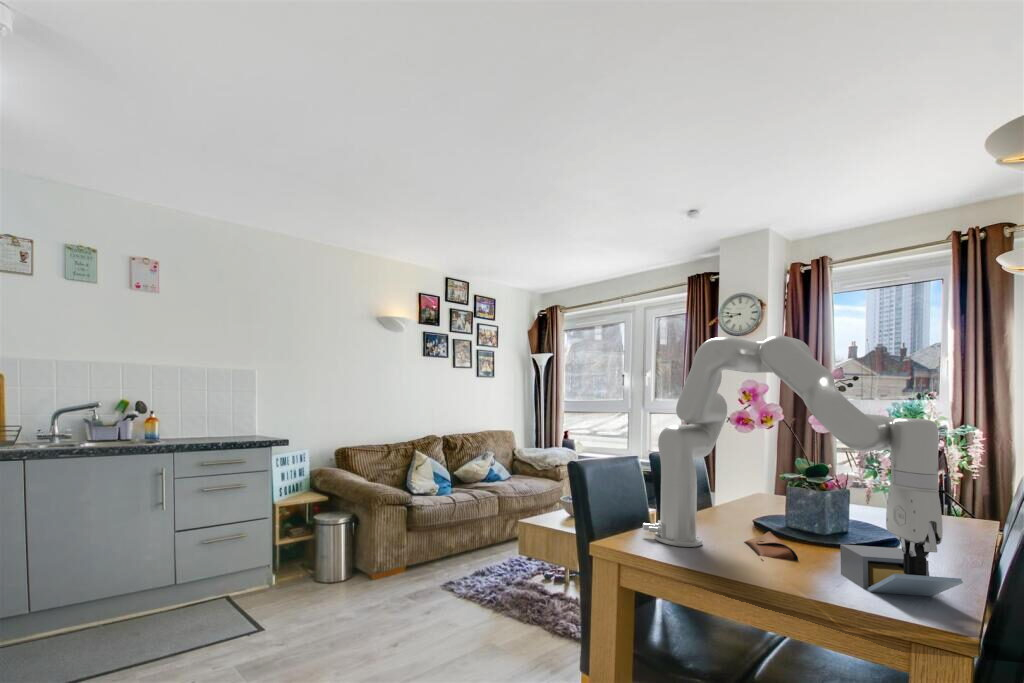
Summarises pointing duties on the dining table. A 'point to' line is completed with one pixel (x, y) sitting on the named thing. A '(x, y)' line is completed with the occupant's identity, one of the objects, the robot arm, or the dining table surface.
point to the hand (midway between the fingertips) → (914, 575)
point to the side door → (914, 584)
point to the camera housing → (871, 563)
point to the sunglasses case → (771, 547)
